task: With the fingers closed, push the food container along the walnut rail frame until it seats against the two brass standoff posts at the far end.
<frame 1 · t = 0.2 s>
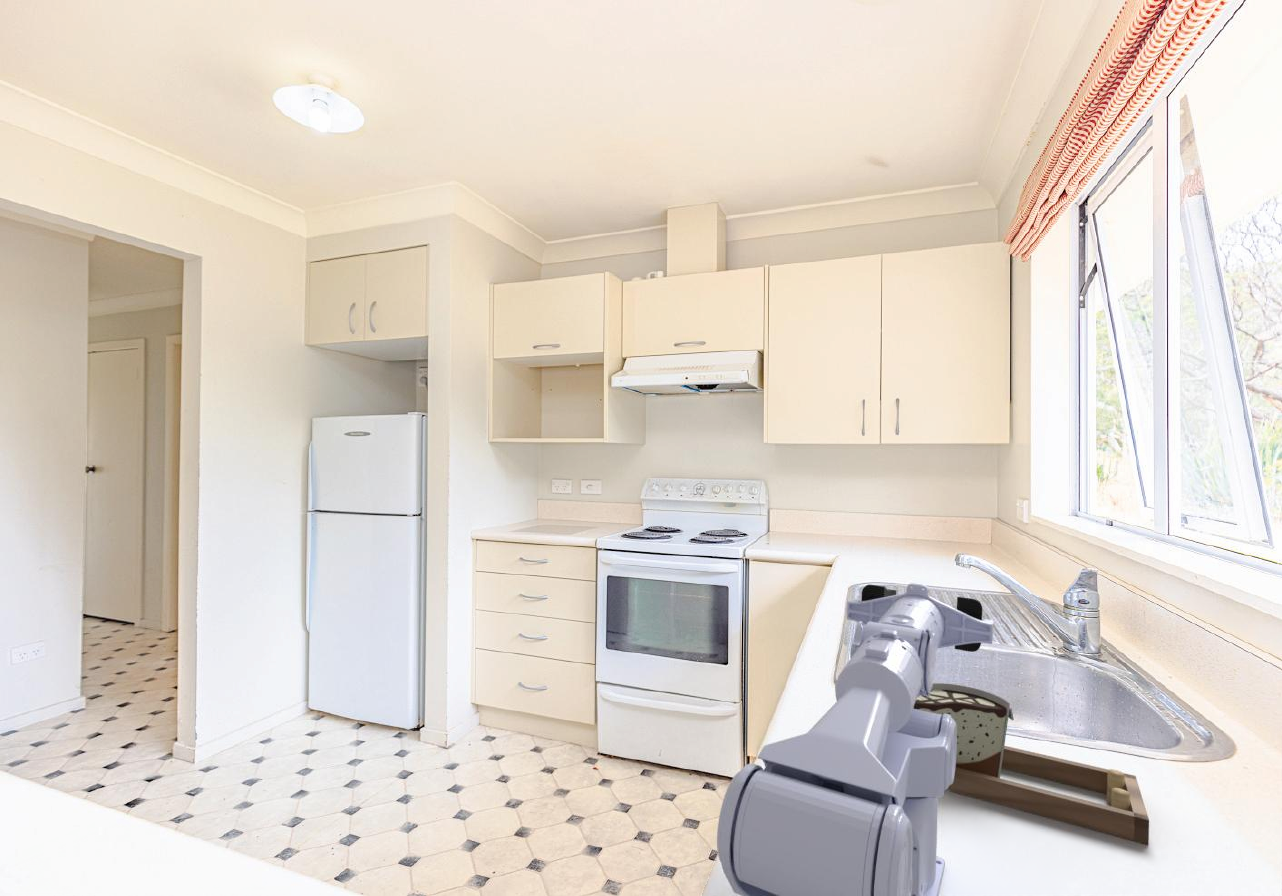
hand: (927, 603, 78), 22 cm above the worktop, tool horizontal, fingers open, 7 cm apart
rail frame: (1032, 791, 76), on the worktop
food container: (948, 771, 81), on the worktop
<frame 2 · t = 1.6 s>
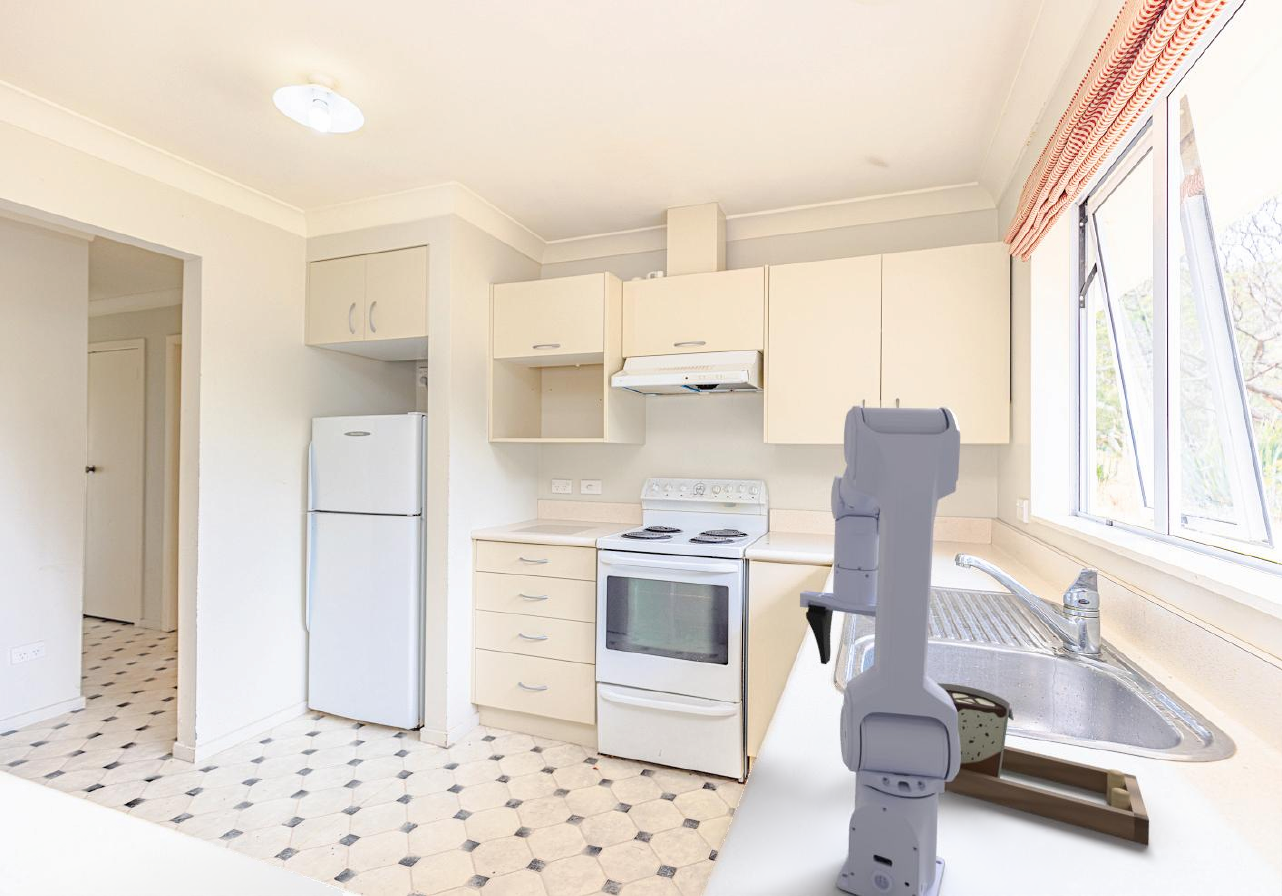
hand: (853, 667, 87), 10 cm above the worktop, tool pointing down, fingers open, 7 cm apart
nothing on the worktop moved.
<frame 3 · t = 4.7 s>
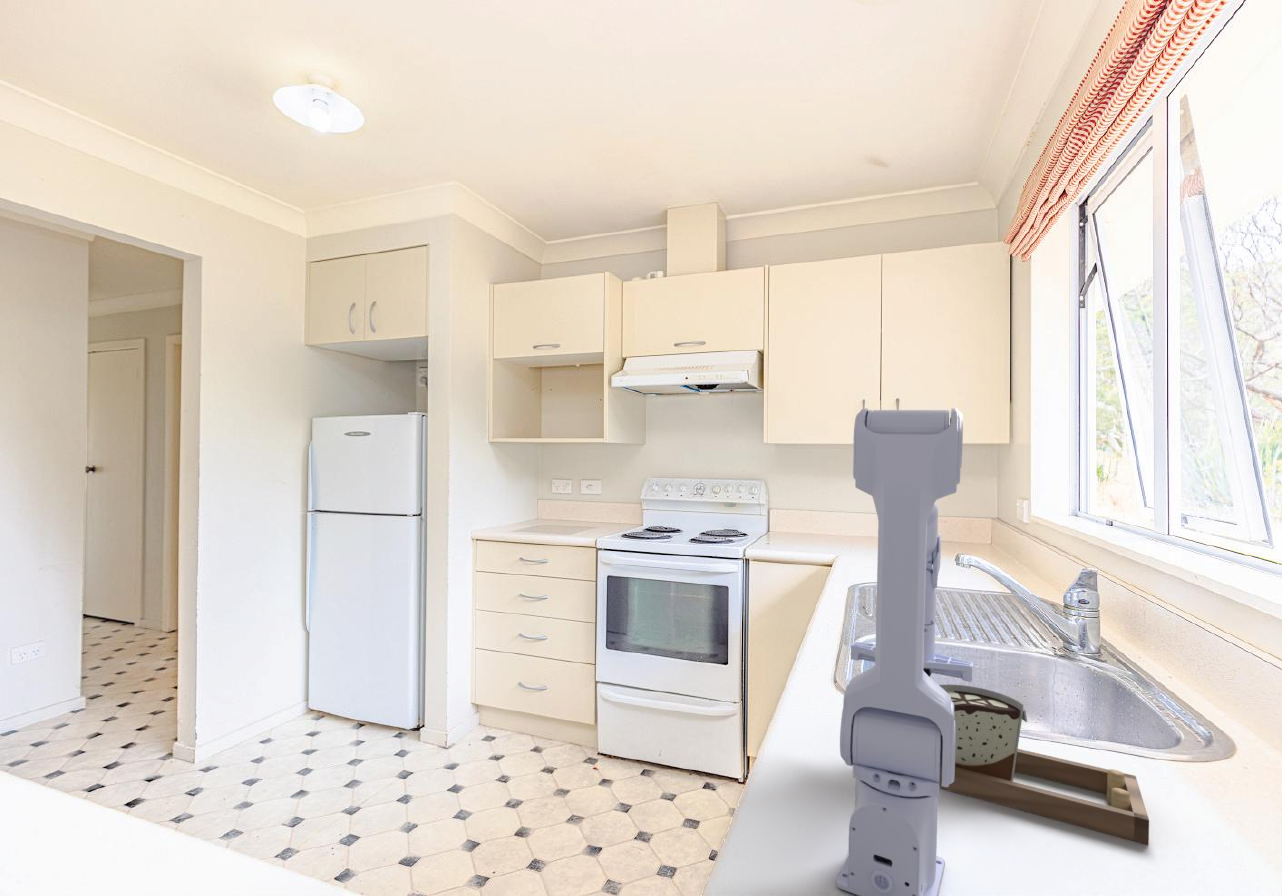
hand: (908, 724, 84), 4 cm above the worktop, tool pointing down, fingers closed
food container: (960, 773, 81), on the worktop, touching gripper
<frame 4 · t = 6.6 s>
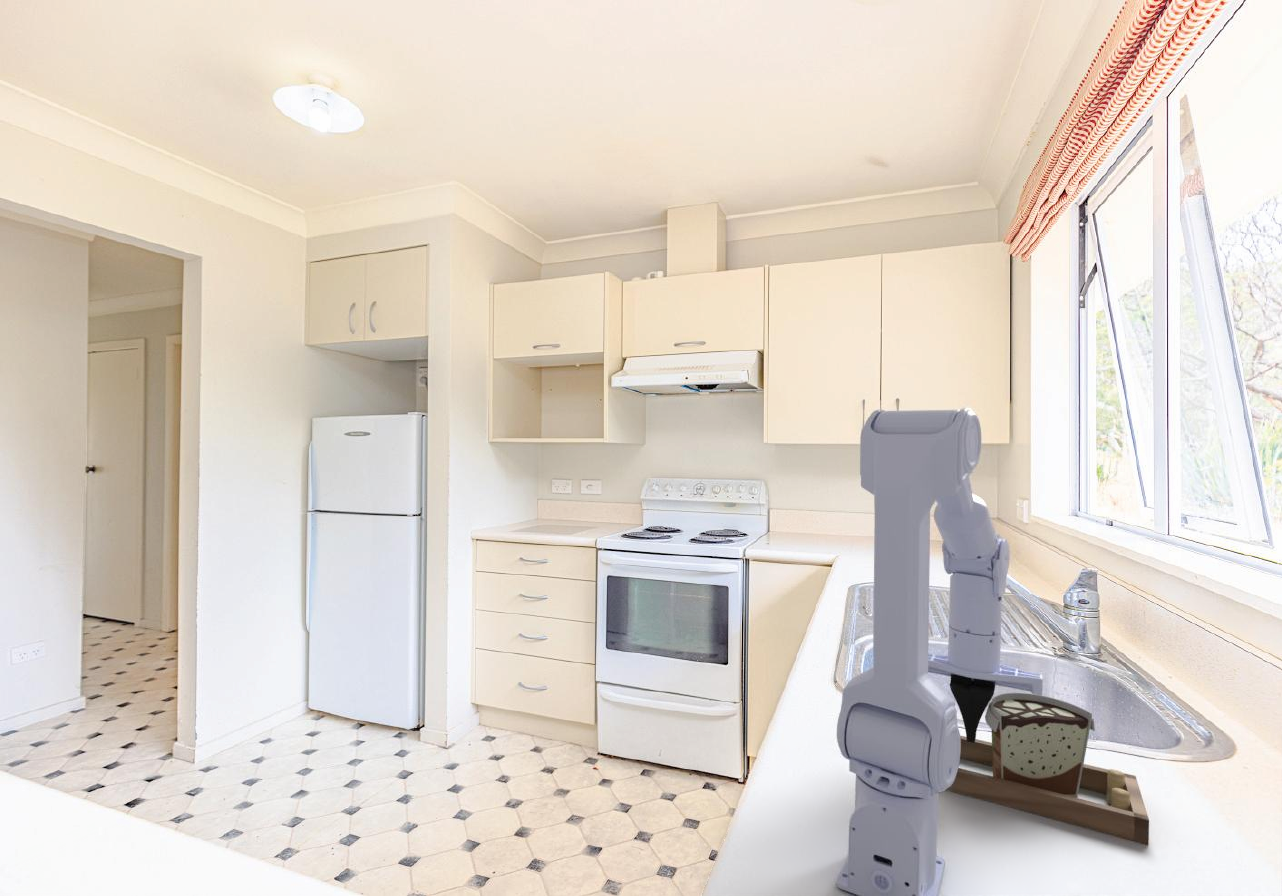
hand: (971, 739, 80), 4 cm above the worktop, tool pointing down, fingers closed
food container: (1022, 784, 78), on the worktop, touching gripper
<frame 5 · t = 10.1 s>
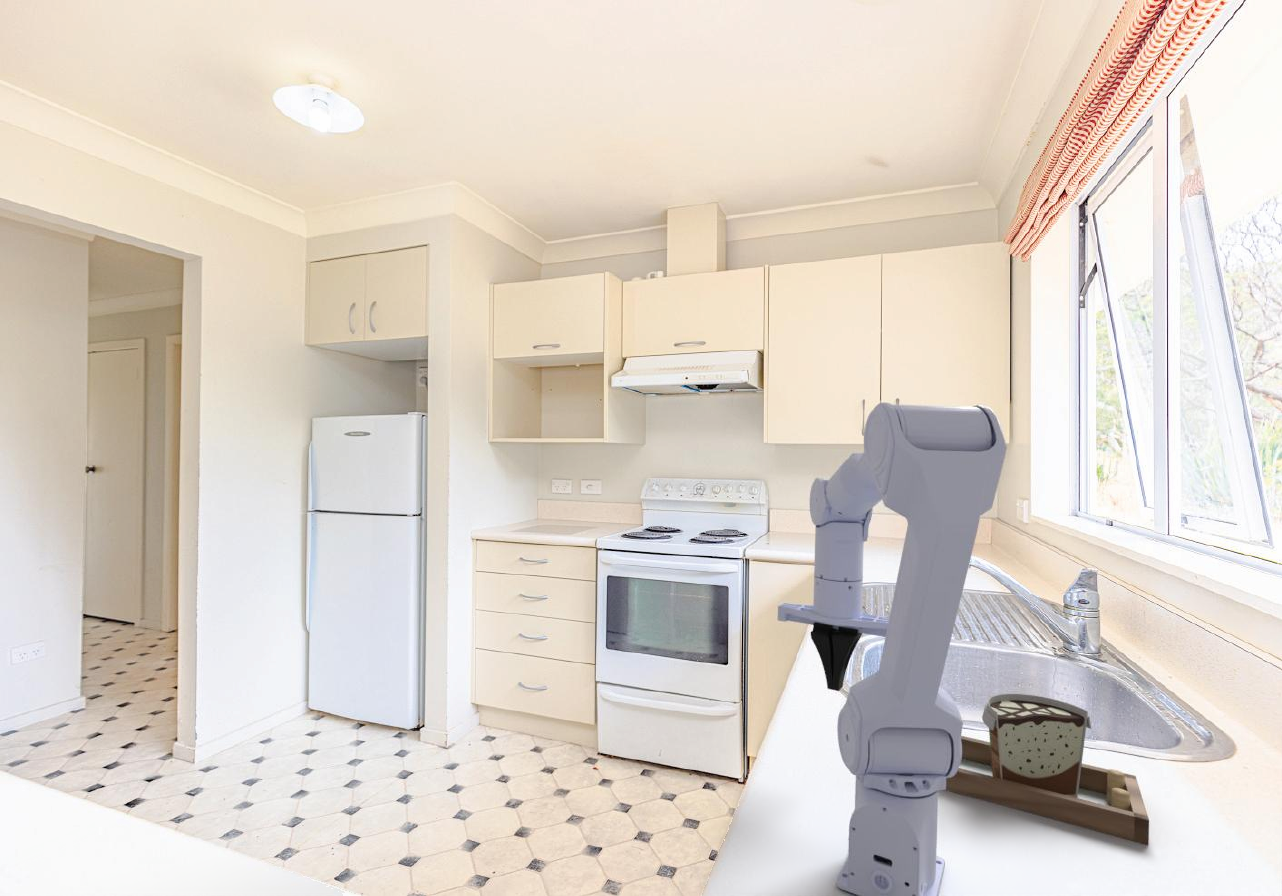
hand: (835, 687, 80), 10 cm above the worktop, tool pointing down, fingers closed
food container: (1022, 786, 78), on the worktop
at the end: food container 2.5 cm from the target spot on the rail frame, point 0.0 cm above the rail frame's base; food container tilted 0°; food container moved 8.0 cm from its start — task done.
